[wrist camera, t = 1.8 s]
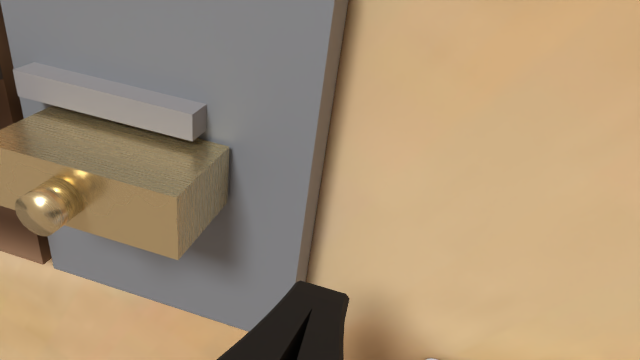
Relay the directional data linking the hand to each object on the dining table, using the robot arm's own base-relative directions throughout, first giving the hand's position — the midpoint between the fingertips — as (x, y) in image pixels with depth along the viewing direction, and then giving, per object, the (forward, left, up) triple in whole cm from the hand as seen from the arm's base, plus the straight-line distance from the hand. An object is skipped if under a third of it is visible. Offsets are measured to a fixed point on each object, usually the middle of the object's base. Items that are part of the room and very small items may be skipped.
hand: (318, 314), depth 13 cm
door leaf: (0, +8, -7) cm, 11 cm away
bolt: (0, +9, -5) cm, 10 cm away
